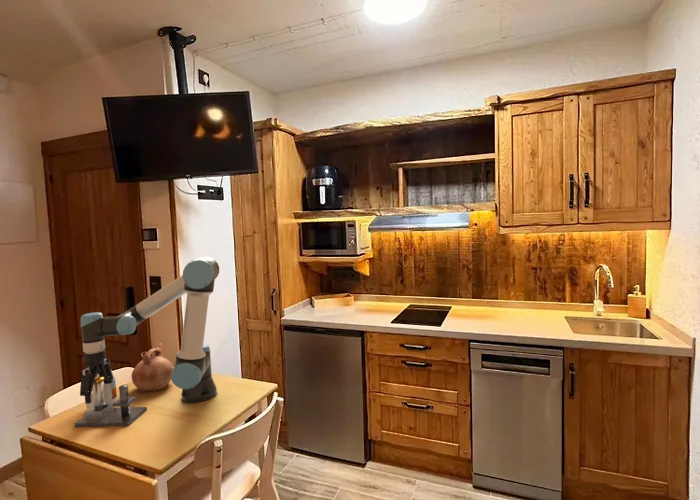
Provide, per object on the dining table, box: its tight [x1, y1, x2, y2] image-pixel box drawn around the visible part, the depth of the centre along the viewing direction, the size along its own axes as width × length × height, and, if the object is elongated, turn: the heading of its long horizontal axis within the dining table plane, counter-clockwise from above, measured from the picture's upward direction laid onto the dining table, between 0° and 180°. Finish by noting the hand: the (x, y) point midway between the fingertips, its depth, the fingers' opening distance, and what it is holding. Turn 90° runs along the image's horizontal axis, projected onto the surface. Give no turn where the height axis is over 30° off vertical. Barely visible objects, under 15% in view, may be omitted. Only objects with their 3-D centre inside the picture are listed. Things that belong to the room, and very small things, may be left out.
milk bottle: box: [96, 369, 118, 404], centre depth 173 cm, size 8×8×20 cm
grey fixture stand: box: [73, 384, 148, 428], centre depth 159 cm, size 22×13×14 cm, turn 87°
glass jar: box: [91, 376, 105, 411], centre depth 160 cm, size 5×5×15 cm
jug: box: [131, 342, 174, 394], centre depth 189 cm, size 18×18×20 cm
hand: (99, 404), depth 160 cm, fingers open, 9 cm apart
